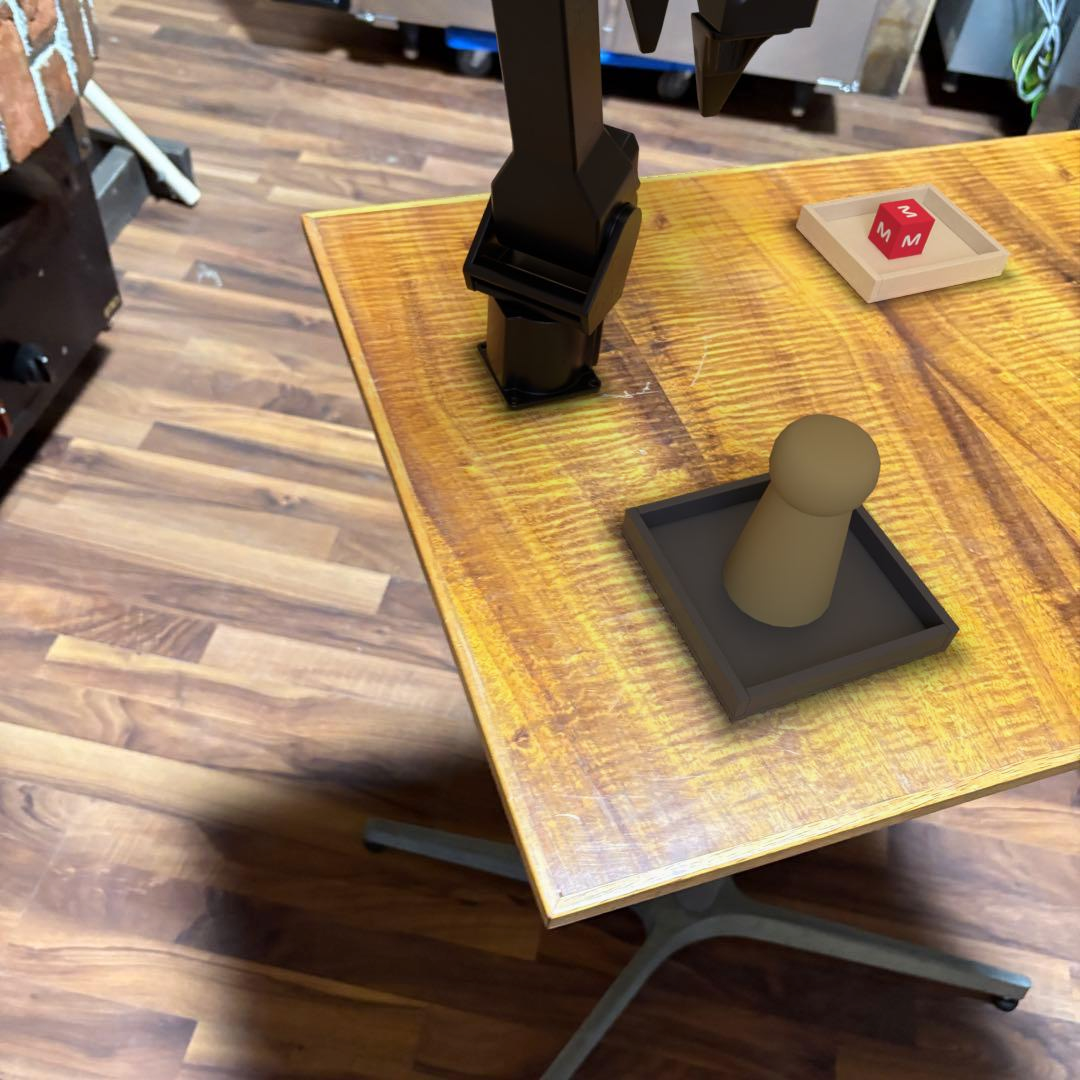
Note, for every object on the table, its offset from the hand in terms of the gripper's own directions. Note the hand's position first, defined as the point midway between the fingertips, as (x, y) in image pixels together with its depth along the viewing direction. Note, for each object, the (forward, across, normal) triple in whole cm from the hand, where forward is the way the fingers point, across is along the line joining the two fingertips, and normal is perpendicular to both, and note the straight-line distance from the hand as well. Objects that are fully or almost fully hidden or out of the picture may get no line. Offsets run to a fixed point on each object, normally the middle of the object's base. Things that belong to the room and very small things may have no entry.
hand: (676, 82), depth 69 cm
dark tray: (+12, -33, +8) cm, 36 cm away
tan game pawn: (+12, -33, +8) cm, 36 cm away
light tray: (+12, -7, -18) cm, 23 cm away
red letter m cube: (+12, -7, -18) cm, 22 cm away
